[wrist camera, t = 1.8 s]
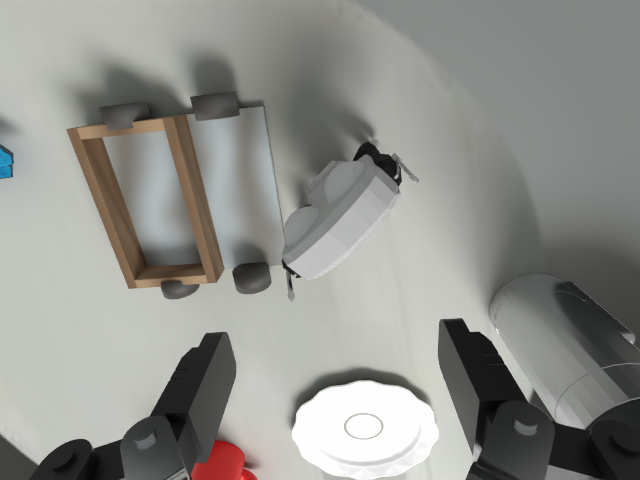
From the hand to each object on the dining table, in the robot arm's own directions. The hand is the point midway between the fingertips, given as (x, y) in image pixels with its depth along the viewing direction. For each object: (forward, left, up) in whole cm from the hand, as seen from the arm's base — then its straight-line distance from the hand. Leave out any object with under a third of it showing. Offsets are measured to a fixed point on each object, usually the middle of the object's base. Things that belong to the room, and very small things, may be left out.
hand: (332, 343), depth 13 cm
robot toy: (0, 0, -25) cm, 25 cm away
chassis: (+15, +1, -25) cm, 29 cm away
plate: (-1, +38, -25) cm, 46 cm away
